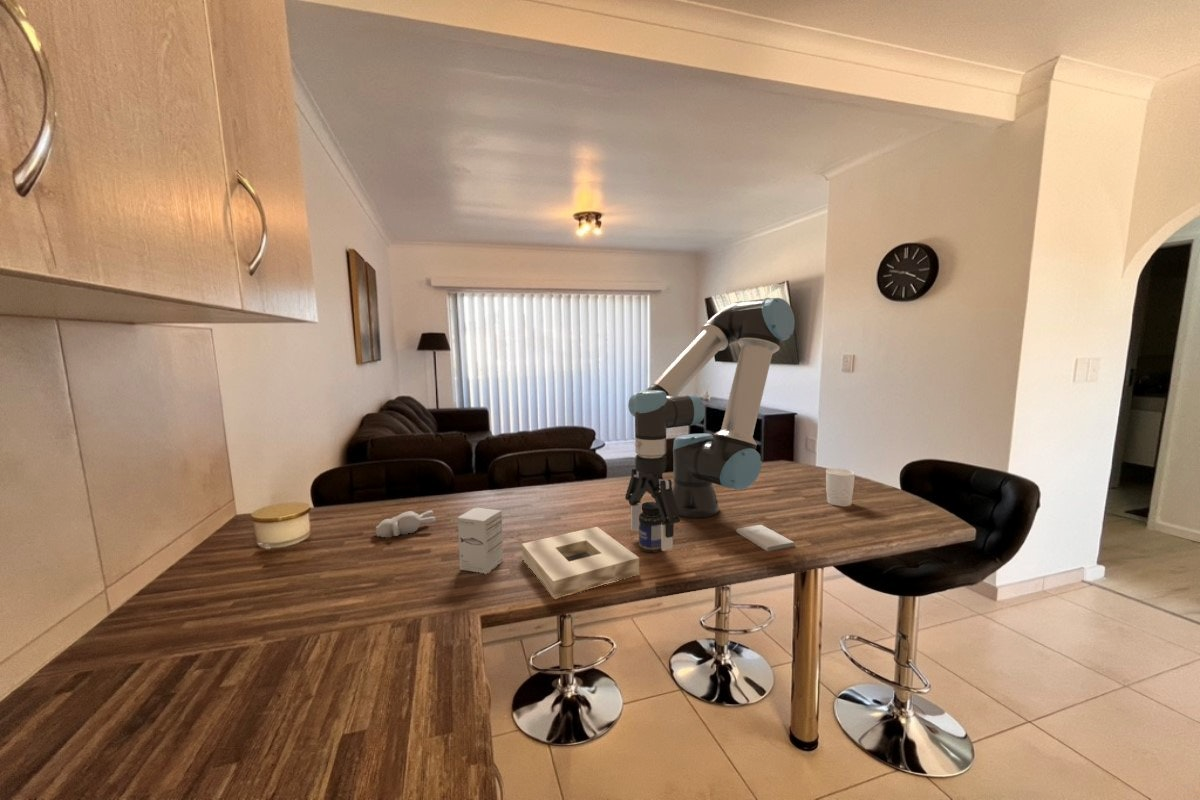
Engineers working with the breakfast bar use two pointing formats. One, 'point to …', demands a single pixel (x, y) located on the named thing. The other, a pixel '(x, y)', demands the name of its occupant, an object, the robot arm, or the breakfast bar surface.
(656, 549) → the pill bottle
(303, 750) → the breakfast bar surface
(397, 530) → the bunny figurine
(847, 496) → the white cup
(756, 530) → the external hard drive
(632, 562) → the socket block
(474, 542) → the supplement box
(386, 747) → the breakfast bar surface
